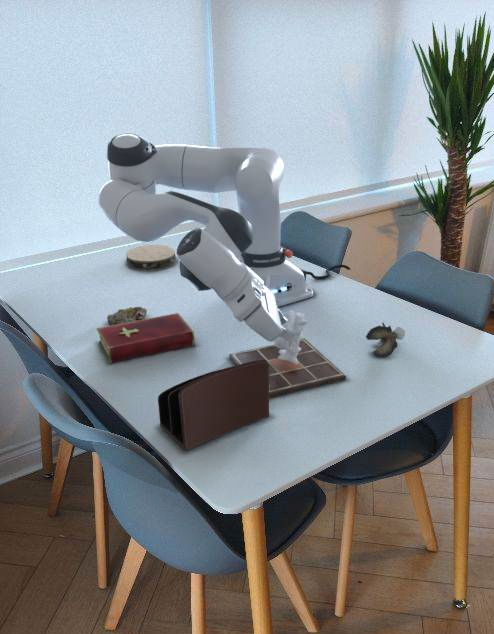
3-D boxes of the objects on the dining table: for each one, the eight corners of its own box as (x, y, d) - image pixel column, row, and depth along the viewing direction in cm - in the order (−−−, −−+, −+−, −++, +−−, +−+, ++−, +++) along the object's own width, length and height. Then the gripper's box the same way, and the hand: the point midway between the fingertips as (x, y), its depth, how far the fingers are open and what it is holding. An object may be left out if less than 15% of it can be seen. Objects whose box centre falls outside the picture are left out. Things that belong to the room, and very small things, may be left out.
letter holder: (270, 417, 122) (270, 355, 115) (185, 452, 113) (179, 388, 105) (242, 395, 129) (241, 336, 121) (159, 427, 119) (152, 365, 112)
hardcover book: (195, 346, 148) (194, 330, 146) (110, 364, 141) (107, 348, 139) (179, 326, 158) (178, 312, 155) (98, 342, 150) (96, 327, 148)
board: (304, 342, 150) (304, 337, 149) (345, 380, 135) (346, 375, 134) (229, 358, 143) (229, 353, 142) (264, 399, 128) (264, 394, 127)
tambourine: (185, 258, 201) (184, 250, 199) (154, 273, 190) (153, 264, 188) (148, 250, 208) (148, 242, 206) (116, 264, 197) (115, 255, 195)
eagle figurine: (372, 333, 152) (357, 340, 144) (391, 313, 147) (377, 320, 140) (392, 355, 150) (379, 364, 143) (412, 336, 146) (400, 344, 139)
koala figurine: (307, 367, 136) (318, 320, 129) (279, 367, 134) (289, 319, 127) (295, 347, 142) (305, 301, 135) (268, 347, 140) (277, 301, 133)
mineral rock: (140, 301, 165) (148, 304, 158) (143, 317, 167) (151, 320, 160) (101, 310, 161) (108, 314, 154) (105, 326, 163) (112, 330, 156)
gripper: (231, 282, 138) (273, 320, 144) (235, 321, 121) (282, 362, 127) (251, 263, 136) (292, 302, 142) (257, 300, 119) (304, 342, 125)
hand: (288, 331), depth 134 cm, fingers closed on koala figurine, 5 cm apart
